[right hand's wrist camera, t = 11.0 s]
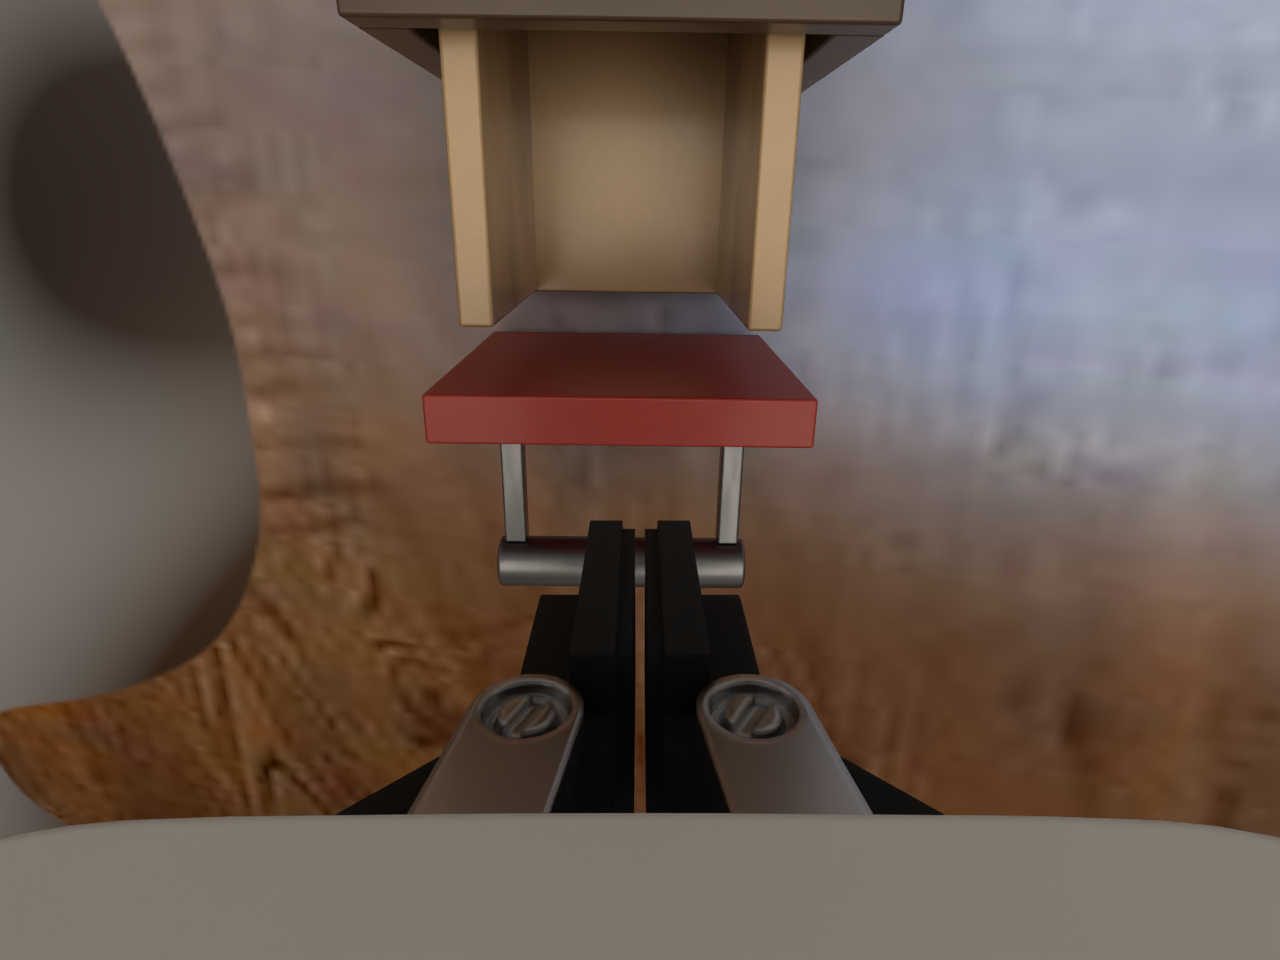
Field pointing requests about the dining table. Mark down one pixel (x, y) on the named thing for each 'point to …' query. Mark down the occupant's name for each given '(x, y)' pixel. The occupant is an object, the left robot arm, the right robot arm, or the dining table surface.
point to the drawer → (620, 256)
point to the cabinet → (633, 22)
